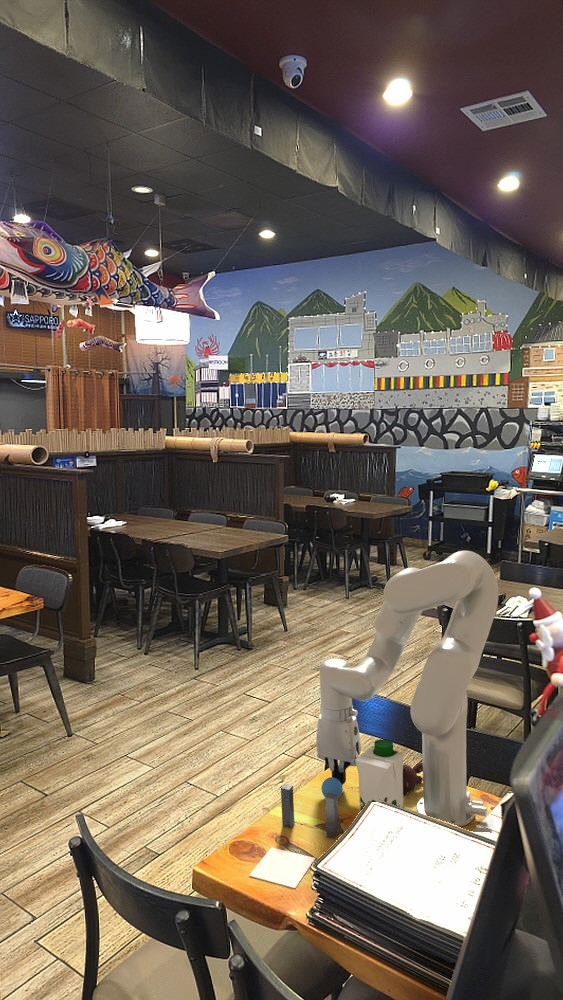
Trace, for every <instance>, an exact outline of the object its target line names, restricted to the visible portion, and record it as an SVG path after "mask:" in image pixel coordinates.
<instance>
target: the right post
mask: <svg viewBox="0 0 563 1000" xmlns="http://www.w3.org/2000/svg"><path fill="white" fill-rule="evenodd" d="M324 801H325V802H324V803H325V827H326V828H325V833H326V838H328V839H333V840H336V839H337V837H338V836H339V834H340V833H339V811H338V810H339V809H338V808H339V807H338V806H339V805H338V802H339V801H338V799H337V794H333V793H328V794H327V795H326V797H324Z"/></svg>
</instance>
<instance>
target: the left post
mask: <svg viewBox="0 0 563 1000" xmlns="http://www.w3.org/2000/svg"><path fill="white" fill-rule="evenodd" d="M280 796H281V797H280V800H281V804H280V805H281V822H282V825H281V826H282V828H286V829H292V828H293V826H294V825H295V804H294V785H293V784H287V783H284V784H283V785H282V786H281V787H280Z"/></svg>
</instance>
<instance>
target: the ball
mask: <svg viewBox="0 0 563 1000" xmlns="http://www.w3.org/2000/svg"><path fill="white" fill-rule="evenodd" d="M343 788H344V787H343V785H342V784H341V782H340V781H339V780H338V779H336V778H334V777H332V776H331V777H328V778H325V780H323V782H322V784H321V789H320V790H321V793H322V795H323V797H324V798H325V797H326V795H327V794H328V793H333V794H337V800H338V799H339V798H340V797H341V796H342V794H343V790H344V789H343Z"/></svg>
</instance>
